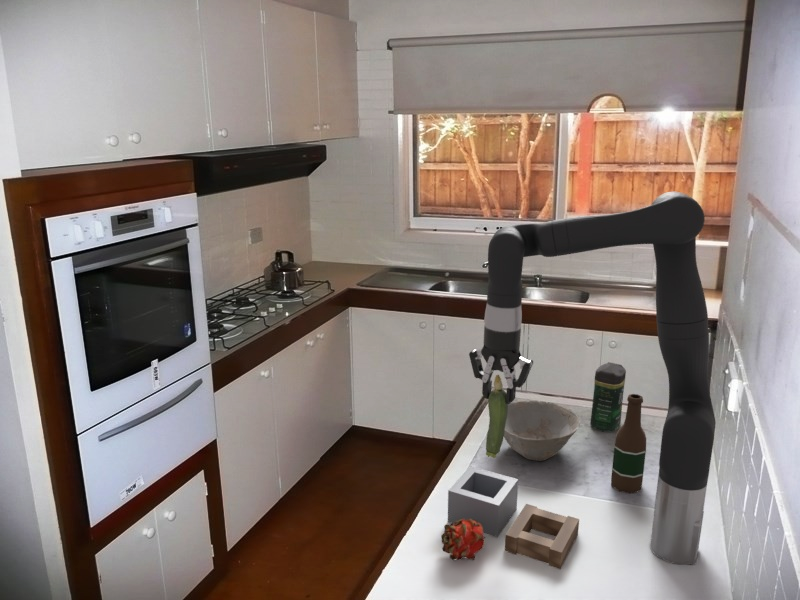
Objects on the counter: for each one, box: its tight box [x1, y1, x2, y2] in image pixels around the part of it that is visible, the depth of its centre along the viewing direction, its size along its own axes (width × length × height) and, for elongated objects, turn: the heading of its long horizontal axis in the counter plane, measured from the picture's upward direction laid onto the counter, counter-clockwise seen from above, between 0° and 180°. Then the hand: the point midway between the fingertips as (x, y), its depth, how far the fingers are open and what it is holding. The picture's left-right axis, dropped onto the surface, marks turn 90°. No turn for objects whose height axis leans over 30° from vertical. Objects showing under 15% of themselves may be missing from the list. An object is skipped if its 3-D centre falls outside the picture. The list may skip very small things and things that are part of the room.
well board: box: [504, 503, 580, 570], centre depth 145 cm, size 12×13×4 cm
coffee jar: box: [589, 362, 627, 433], centre depth 195 cm, size 10×8×19 cm
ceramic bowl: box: [503, 400, 581, 462], centre depth 182 cm, size 22×23×10 cm
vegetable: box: [485, 374, 508, 458], centre depth 146 cm, size 4×4×20 cm
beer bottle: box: [610, 393, 647, 494], centre depth 164 cm, size 8×8×24 cm
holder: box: [447, 465, 519, 539], centre depth 154 cm, size 12×12×8 cm
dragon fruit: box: [440, 518, 486, 561], centre depth 141 cm, size 8×8×12 cm
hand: (498, 399), depth 145 cm, fingers closed on vegetable, 4 cm apart
